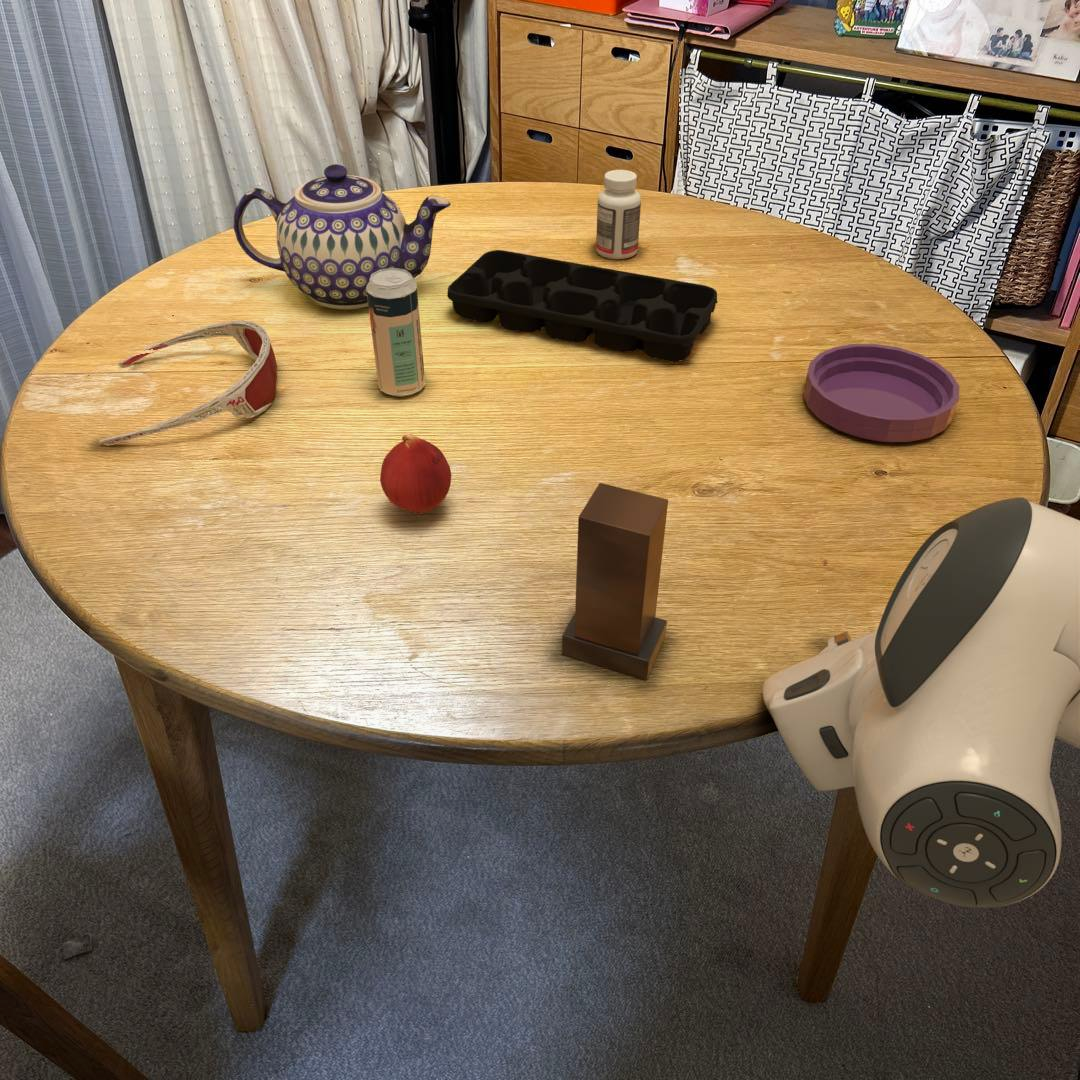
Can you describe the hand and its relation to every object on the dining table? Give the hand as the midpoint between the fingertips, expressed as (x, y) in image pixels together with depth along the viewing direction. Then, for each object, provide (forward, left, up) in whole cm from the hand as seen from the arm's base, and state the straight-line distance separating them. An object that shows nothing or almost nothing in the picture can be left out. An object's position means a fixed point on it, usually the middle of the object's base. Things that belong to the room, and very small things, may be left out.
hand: (906, 616), depth 68 cm
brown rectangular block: (+20, +7, -3) cm, 21 cm away
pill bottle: (+38, -60, -3) cm, 71 cm away
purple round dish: (+4, -33, -3) cm, 34 cm away
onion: (+40, -3, -3) cm, 40 cm away
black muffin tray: (+37, -41, -3) cm, 55 cm away
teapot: (+65, -39, -3) cm, 76 cm away
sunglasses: (+69, -13, -3) cm, 70 cm away
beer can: (+50, -21, -3) cm, 54 cm away
